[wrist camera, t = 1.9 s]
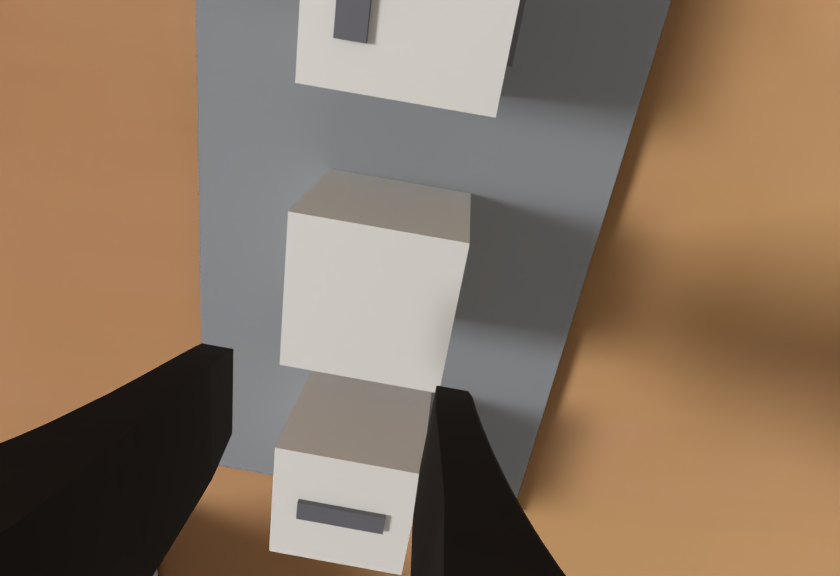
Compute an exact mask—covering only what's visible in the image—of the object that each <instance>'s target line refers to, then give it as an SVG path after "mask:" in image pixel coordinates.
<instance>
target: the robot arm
mask: <svg viewBox="0 0 840 576" xmlns="http://www.w3.org/2000/svg"><path fill="white" fill-rule="evenodd" d="M232 419H233V349H231V348H226V347H220V346H214V345H209V344H203V343H202V344H200V345H198V346H196V347H194V348H192V349H190V350H188V351H186V352H184V353H182V354H180V355H179V356H177V357H175V358H173V359H171V360H170V361H168V362H166V363H164V364H162V365H161V366H159V367H157V368H155V369H153V370H151V371H150V372H148V373H146V374H144V375H142V376H140V377H139V378H137V379H135V380H133V381H131V382H129V383H127V384H126V385H124V386H122V387H120V388H118V389H116V390H114V391H113V392H111V393H109V394H107V395H105V396H103V397H101V398H99V399H97V400H95V401H92V402H90V403H88V404H86V405H84V406H82V407H80V408H78V409H76V410H74V411H72V412H70V413H68V414H66V415H64V416H62V417H60V418H58V419H56V420H54V421H51V422H49V423H47V424H45V425H43V426H40V427H38V428H36V429H34V430H31V431H29V432H27V433H24V434H22V435H20V436H17V437H15V438H12V439H10V440H7V441H5V442H2V443H0V576H158V572H157V568H158V567H159V565H160V563H161V562H162V560H163V559H164V557H165V555H166V554H167V552H168V550H169V549H170V547H171V546H172V544H173V542H174V541H175V539H176V537H177V536H178V534H179V533H180V531H181V529H182V528H183V526H184V524H185V523H186V521H187V520H188V518H189V516H190V515H191V513H192V511H193V510H194V508H195V506H196V505H197V503H198V501H199V500H200V498H201V497H202V495H203V493H204V492H205V490H206V488H207V487H208V485H209V483H210V481H211V480H212V478H213V475H214V473H215V471H216V469H217V467H218V465H219V463H220V460H221V458H222V456H223V454H224V451H225V449H226V447H227V444H228V442H229V440H230V437H231V435H232ZM411 576H566V575H565V574H564V573H563V571H562V570H561V569H560V567H559V566H558V564H557V563H556V561H555V560H554V559H553V557H552V556H551V554H550V553H549V551H548V550H547V548H546V547H545V545H544V544H543V542H542V541H541V539H540V537H539V536H538V534H537V533H536V531H535V529H534V528H533V526H532V524H531V523H530V521H529V519H528V518H527V516H526V514H525V513H524V511H523V509H522V507H521V505H520V504H519V502H518V500H517V498H516V497H515V495H514V493H513V491H512V489H511V487H510V485H509V483H508V481H507V480H506V478H505V475H504V473H503V471H502V469H501V467H500V465H499V463H498V461H497V459H496V457H495V455H494V452H493V450H492V448H491V446H490V443H489V441H488V439H487V436H486V434H485V431H484V429H483V426H482V424H481V421H480V418H479V416H478V413H477V410H476V407H475V403H474V400H473V397H472V396H471V394H470V393H469V391H465V390H459V389H454V388H448V387H443V386H436V391H435V395H434V400H433V405H432V410H431V415H430V420H429V425H428V430H427V435H426V440H425V445H424V450H423V455H422V460H421V465H420V470H419V477H418V485H417V492H416V499H415V506H414V513H413V530H412V557H411Z"/></svg>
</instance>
